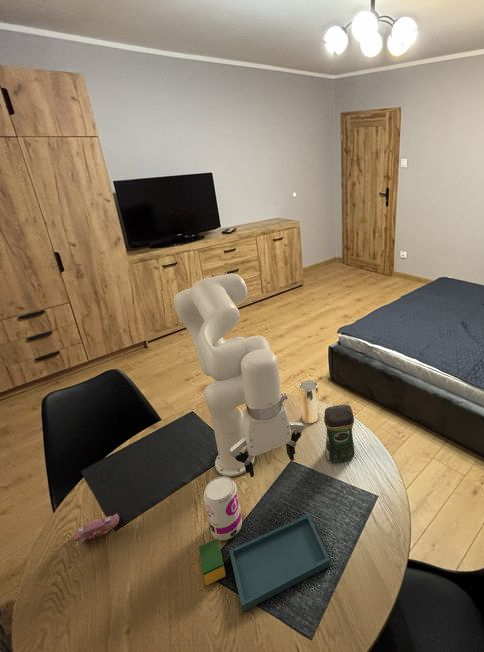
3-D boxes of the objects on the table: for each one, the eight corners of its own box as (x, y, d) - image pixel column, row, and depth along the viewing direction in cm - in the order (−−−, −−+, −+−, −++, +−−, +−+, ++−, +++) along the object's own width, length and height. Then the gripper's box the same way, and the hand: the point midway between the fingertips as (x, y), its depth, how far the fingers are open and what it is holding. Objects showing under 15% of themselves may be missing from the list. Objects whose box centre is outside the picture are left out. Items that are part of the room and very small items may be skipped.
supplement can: (248, 518, 102) (241, 479, 96) (230, 546, 95) (223, 505, 89) (223, 509, 105) (215, 471, 99) (204, 536, 98) (195, 496, 92)
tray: (230, 556, 93) (229, 550, 92) (309, 519, 102) (308, 514, 101) (242, 612, 82) (241, 606, 81) (330, 565, 90) (330, 559, 89)
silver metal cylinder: (316, 425, 136) (315, 392, 130) (298, 423, 137) (296, 390, 131) (321, 413, 142) (320, 380, 136) (304, 411, 144) (302, 378, 138)
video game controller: (79, 548, 97) (70, 542, 92) (78, 529, 99) (70, 523, 94) (121, 531, 101) (115, 525, 96) (120, 513, 103) (114, 507, 98)
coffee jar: (351, 443, 128) (351, 399, 120) (356, 460, 121) (356, 415, 113) (323, 447, 126) (322, 403, 119) (327, 465, 119) (326, 420, 112)
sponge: (201, 558, 92) (198, 546, 91) (220, 550, 94) (218, 538, 92) (206, 585, 87) (202, 573, 85) (225, 576, 88) (223, 564, 87)
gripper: (294, 384, 86) (299, 441, 93) (219, 408, 79) (230, 467, 85) (307, 402, 80) (311, 461, 87) (227, 429, 73) (238, 492, 79)
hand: (271, 464), depth 86 cm, fingers open, 9 cm apart
